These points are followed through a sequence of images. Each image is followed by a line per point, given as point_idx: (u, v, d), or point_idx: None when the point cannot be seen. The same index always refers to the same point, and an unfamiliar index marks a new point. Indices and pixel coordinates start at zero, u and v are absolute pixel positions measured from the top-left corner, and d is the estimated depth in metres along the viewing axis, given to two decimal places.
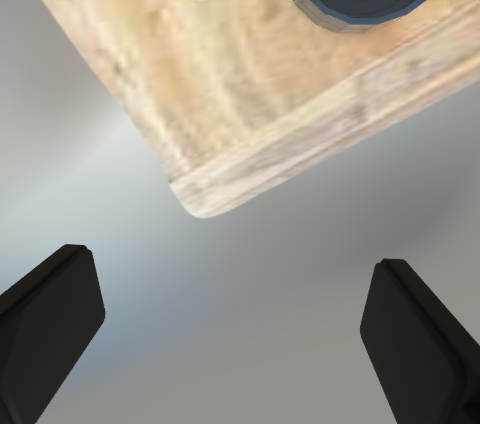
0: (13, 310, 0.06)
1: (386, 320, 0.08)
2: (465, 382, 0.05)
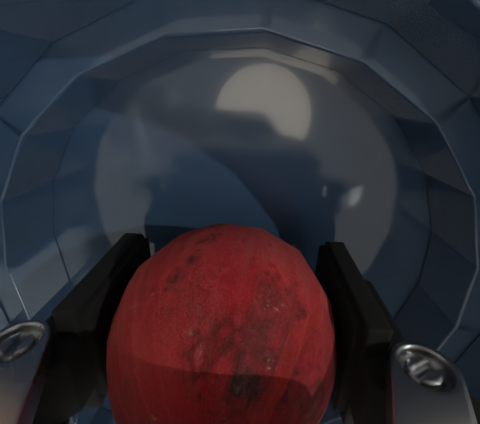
0: (101, 287, 0.07)
1: None
2: (362, 336, 0.06)
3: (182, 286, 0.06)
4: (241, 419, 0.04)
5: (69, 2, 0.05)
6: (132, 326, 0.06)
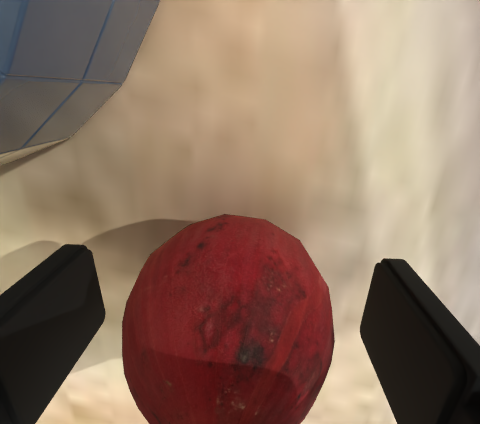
0: (13, 310, 0.06)
1: (386, 320, 0.08)
2: (465, 382, 0.05)
3: (192, 269, 0.06)
4: (247, 384, 0.05)
5: None
6: (147, 305, 0.06)
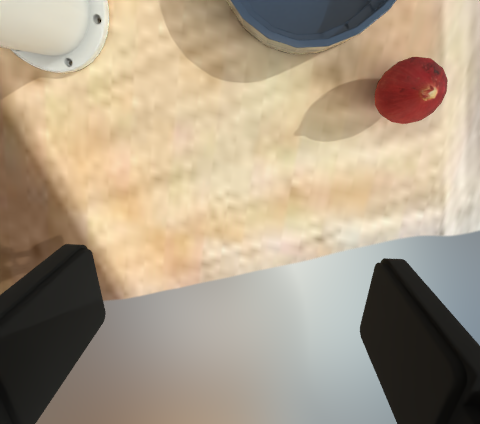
0: (13, 310, 0.06)
1: (386, 320, 0.08)
2: (465, 382, 0.05)
3: (415, 61, 0.25)
4: (436, 76, 0.24)
5: None
6: (404, 69, 0.25)
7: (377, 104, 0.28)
